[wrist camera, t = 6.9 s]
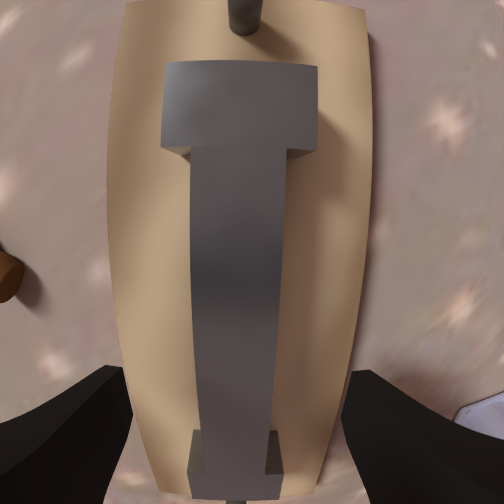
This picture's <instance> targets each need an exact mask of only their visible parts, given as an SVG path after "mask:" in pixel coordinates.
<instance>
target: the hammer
mask: <svg viewBox="0 0 504 504" xmlns="http://www.w3.org/2000/svg"><path fill="white" fill-rule="evenodd" d="M23 273H24V267H23V265H22V264H21V263H20V262H19V261H17V260H16V259H15V258H14V257H12V256H11V255H9V254H7V253H4V252H2V251H1V250H0V303H4V302H6V301H8V300H9V299H11V298H12V297H13V296H14V295H15V294H16V292H17V291H18V289H19V287H20V284H21V280H22V277H23Z"/></svg>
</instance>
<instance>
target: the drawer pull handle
mask: <svg viewBox="0 0 504 504" xmlns="http://www.w3.org/2000/svg"><path fill="white" fill-rule="evenodd" d="M160 147H161V148H163V149H166V150H168V151H171V152H173V153H175V154H178V155H180V156H191V157H190V281H191V308H192V329H193V346H194V361H195V375H196V387H197V399H198V410H199V420H200V429H201V430H197V429H193V434H192V441H191V447H190V454H189V460H188V467H187V477H188V481H189V486H190V490H191V494H192V499H205V500H227V501H258V500H279V497H280V492H281V487H282V482H283V477H284V470H283V463H282V457H281V450H280V444H279V437H278V431H277V430H276V431H269V429H270V419H271V408H272V397H273V385H274V373H275V361H276V348H277V334H278V320H279V304H280V288H281V271H282V253H283V233H284V210H285V184H286V158H300V157H302V156H305V155H307V154H310V153H312V152H315V151H317V149H318V66H313V65H305V64H296V63H285V62H271V61H252V60H198V61H179V62H166V70H165V81H164V93H163V106H162V121H161V141H160Z"/></svg>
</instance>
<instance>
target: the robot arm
mask: <svg viewBox="0 0 504 504" xmlns="http://www.w3.org/2000/svg"><path fill="white" fill-rule="evenodd" d="M132 417H133V411H132V407H131V403H130V399H129V395H128V391H127V386H126V382H125V377H124V373H123V368H122V367H116V366H109V365H105V366H103V367H101V368H99V369H98V370H96V371H95V372H93V373H92V374H90V375H89V376H87V377H85V378H84V379H82V380H81V381H79V382H78V383H76V384H75V385H73V386H72V387H70V388H69V389H67V390H66V391H64V392H63V393H61V394H59V395H58V396H56V397H54V398H53V399H51V400H49V401H47V402H46V403H44V404H42V405H40V406H39V407H37V408H35V409H33V410H31V411H29V412H27V413H25V414H23V415H21V416H18V417H16V418H13V419H11V420H9V421H6V422H3V423H0V504H103V501H104V497H105V494H106V491H107V488H108V486H109V483H110V481H111V478H112V476H113V473H114V471H115V468H116V466H117V463H118V461H119V458H120V456H121V453H122V451H123V448H124V446H125V443H126V441H127V437H128V434H129V430H130V426H131V422H132ZM341 421H342V426H343V430H344V434H345V438H346V442H347V445H348V447H349V450H350V452H351V455H352V457H353V460H354V462H355V465H356V467H357V470H358V472H359V474H360V477H361V479H362V482H363V484H364V487H365V489H366V492H367V494H368V497H369V500H370V504H504V392H503V393H500V394H498V395H495V396H493V397H490V398H488V399H485V400H482V401H480V402H477V403H474V404H471V405H469V406H466V407H463V408H462V409H460V410H459V412H458V414H457V416H456V418H455V420H454V422H453V421H451V420H449V419H447V418H445V417H443V416H441V415H439V414H437V413H436V412H434V411H432V410H430V409H428V408H427V407H425V406H424V405H422V404H420V403H419V402H417V401H416V400H414V399H412V398H411V397H409V396H408V395H406V394H405V393H403V392H402V391H400V390H399V389H398V388H396V387H395V386H393V385H392V384H390V383H389V382H387V381H386V380H385V379H383V378H382V377H380V376H379V375H377V374H376V373H374V372H372V371H371V370H360V371H352V373H351V378H350V382H349V386H348V390H347V394H346V398H345V402H344V406H343V410H342V414H341Z"/></svg>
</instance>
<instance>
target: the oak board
mask: <svg viewBox="0 0 504 504" xmlns="http://www.w3.org/2000/svg"><path fill="white" fill-rule="evenodd" d="M198 60H252V61H271V62H285V63H296V64H305V65H313V66H318V149H317V151H315V152H312V153H310V154H307V155H305V156H302V157H300V158H286V184H285V210H284V233H283V253H282V271H281V288H280V304H279V320H278V334H277V348H276V361H275V373H274V385H273V397H272V408H271V419H270V429H269V431H276V430H277V431H278V437H279V444H280V450H281V457H282V463H283V470H284V477H283V482H282V487H281V492H280V496H290V495H301V494H310V493H313V491H314V488H315V486H316V483H317V480H318V477H319V474H320V471H321V467H322V464H323V461H324V458H325V455H326V451H327V448H328V445H329V441H330V438H331V434H332V431H333V427H334V423H335V420H336V416H337V412H338V408H339V404H340V400H341V396H342V392H343V387H344V383H345V378H346V374H347V369H348V365H349V360H350V355H351V350H352V344H353V339H354V334H355V328H356V322H357V316H358V310H359V303H360V297H361V290H362V282H363V274H364V266H365V258H366V248H367V238H368V227H369V214H370V199H371V179H372V89H371V71H370V57H369V45H368V35H367V26H366V17H365V10H363V9H358V8H354V7H350V6H345V5H340V4H335V3H329V2H324V1H317V0H144V1H138V2H132V3H127V5H126V9H125V14H124V18H123V23H122V28H121V33H120V39H119V44H118V50H117V57H116V63H115V70H114V78H113V86H112V95H111V105H110V116H109V130H108V149H107V223H108V243H109V257H110V269H111V280H112V289H113V298H114V306H115V313H116V320H117V327H118V333H119V339H120V345H121V351H122V356H123V362H124V367H125V372H126V376H127V381H128V386H129V390H130V394H131V399H132V403H133V407H134V411H135V415H136V418H137V422H138V426H139V429H140V433H141V437H142V440H143V443H144V447H145V450H146V453H147V456H148V459H149V462H150V466H151V468H152V471H153V474H154V477H155V480H156V483H157V486H158V488H159V491H160V492H167V493H175V494H185V495H192V494H191V490H190V486H189V481H188V477H187V467H188V460H189V454H190V447H191V441H192V434H193V429H197V430H201V429H200V420H199V410H198V399H197V387H196V375H195V361H194V346H193V329H192V308H191V281H190V157H191V156H180V155H178V154H175V153H173V152H171V151H168V150H166V149H163V148H161V147H160V141H161V121H162V106H163V93H164V81H165V70H166V62H179V61H198ZM226 504H246V501H227V500H226Z"/></svg>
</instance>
